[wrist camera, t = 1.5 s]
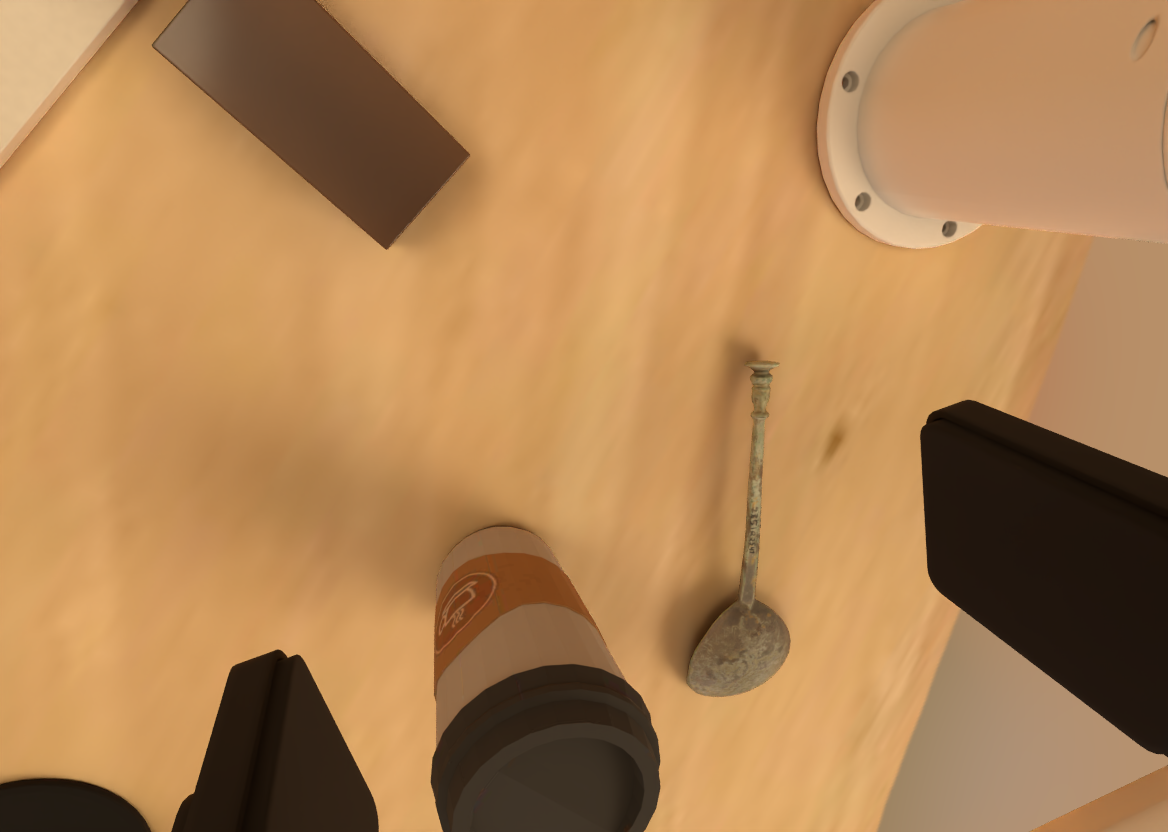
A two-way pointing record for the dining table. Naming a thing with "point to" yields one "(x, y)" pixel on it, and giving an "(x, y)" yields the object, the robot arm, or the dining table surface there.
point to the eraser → (317, 105)
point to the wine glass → (65, 808)
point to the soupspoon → (744, 592)
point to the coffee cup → (531, 700)
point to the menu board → (46, 56)
